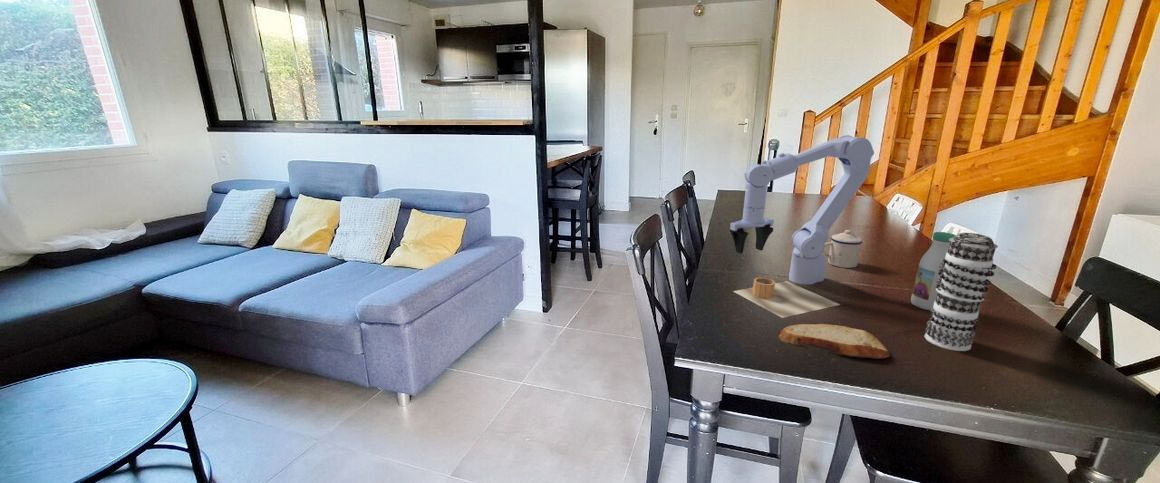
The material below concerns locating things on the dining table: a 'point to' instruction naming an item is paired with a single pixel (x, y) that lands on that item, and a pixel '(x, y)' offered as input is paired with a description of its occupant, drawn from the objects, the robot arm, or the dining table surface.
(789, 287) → the board
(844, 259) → the teacup with lid
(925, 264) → the milk bottle
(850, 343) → the slice of bread
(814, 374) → the dining table surface
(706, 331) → the dining table surface
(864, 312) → the dining table surface
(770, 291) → the sleeve
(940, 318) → the decorative candle
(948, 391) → the dining table surface
